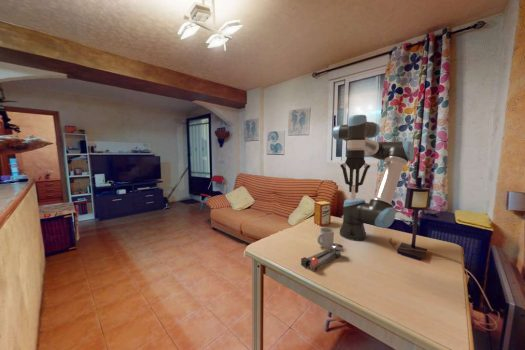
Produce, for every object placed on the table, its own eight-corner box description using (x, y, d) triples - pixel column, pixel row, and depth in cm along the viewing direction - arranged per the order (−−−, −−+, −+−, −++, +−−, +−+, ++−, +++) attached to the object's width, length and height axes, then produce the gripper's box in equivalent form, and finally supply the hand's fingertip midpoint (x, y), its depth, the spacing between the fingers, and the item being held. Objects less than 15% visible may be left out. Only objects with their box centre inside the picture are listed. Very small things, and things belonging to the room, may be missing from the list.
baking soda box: (323, 221, 148) (324, 200, 146) (330, 224, 142) (331, 202, 140) (314, 223, 144) (314, 202, 142) (320, 226, 138) (321, 204, 136)
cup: (336, 246, 109) (336, 231, 108) (322, 250, 104) (322, 234, 103) (326, 241, 115) (327, 226, 114) (313, 244, 111) (313, 229, 110)
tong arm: (334, 251, 103) (334, 242, 102) (344, 255, 99) (344, 246, 98) (307, 267, 89) (307, 256, 88) (317, 273, 85) (317, 262, 84)
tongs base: (332, 251, 104) (332, 244, 103) (342, 256, 99) (342, 248, 98) (301, 265, 91) (301, 256, 91) (310, 271, 86) (311, 263, 86)
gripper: (372, 149, 91) (369, 199, 94) (342, 149, 99) (340, 196, 101) (370, 149, 85) (367, 202, 88) (339, 149, 92) (337, 199, 95)
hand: (353, 199), depth 95 cm, fingers closed
